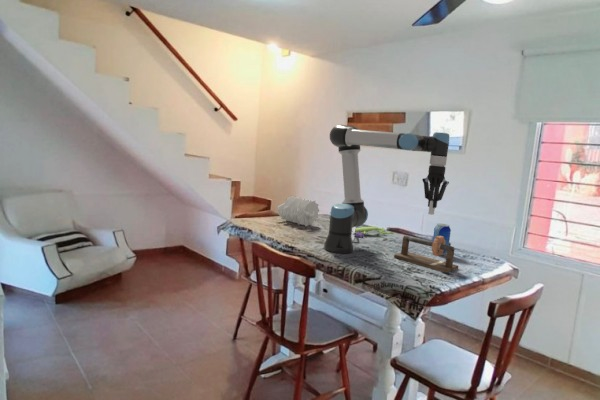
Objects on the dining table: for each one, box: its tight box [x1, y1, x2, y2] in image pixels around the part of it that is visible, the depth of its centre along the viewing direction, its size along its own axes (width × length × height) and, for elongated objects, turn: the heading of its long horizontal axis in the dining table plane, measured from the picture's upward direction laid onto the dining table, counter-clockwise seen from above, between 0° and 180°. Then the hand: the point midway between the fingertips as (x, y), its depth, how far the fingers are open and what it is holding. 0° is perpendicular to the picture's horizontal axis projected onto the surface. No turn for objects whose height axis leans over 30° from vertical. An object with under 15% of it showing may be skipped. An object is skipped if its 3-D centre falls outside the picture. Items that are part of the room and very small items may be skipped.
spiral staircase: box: [276, 195, 320, 227], centre depth 282 cm, size 18×18×25 cm
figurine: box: [354, 226, 395, 238], centre depth 265 cm, size 18×27×6 cm
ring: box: [431, 236, 446, 257], centre depth 205 cm, size 9×2×9 cm, turn 135°
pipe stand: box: [393, 234, 459, 274], centre depth 210 cm, size 12×28×11 cm, turn 45°
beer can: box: [432, 223, 452, 256], centre depth 232 cm, size 8×8×16 cm
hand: (431, 214), depth 207 cm, fingers closed
